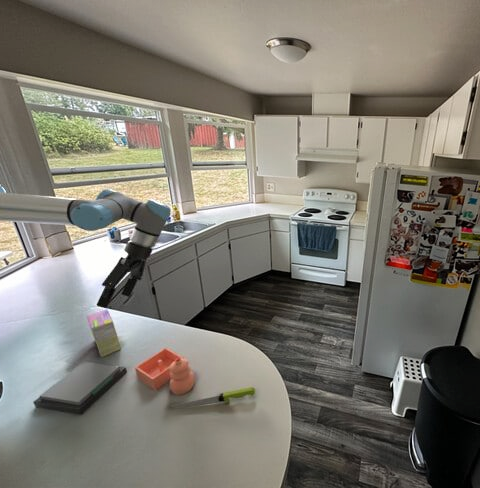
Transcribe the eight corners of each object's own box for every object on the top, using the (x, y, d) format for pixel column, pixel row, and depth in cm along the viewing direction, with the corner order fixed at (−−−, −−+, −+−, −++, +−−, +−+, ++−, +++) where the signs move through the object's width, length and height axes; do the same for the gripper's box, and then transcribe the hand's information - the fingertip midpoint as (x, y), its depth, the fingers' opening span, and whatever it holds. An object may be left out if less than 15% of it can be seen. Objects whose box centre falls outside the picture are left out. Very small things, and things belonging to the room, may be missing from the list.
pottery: (137, 377, 77) (130, 352, 74) (167, 357, 85) (162, 333, 82) (174, 403, 70) (168, 377, 66) (204, 378, 78) (199, 353, 74)
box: (95, 342, 90) (86, 315, 86) (115, 335, 94) (107, 308, 90) (100, 358, 84) (90, 329, 80) (121, 349, 88) (113, 321, 84)
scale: (35, 407, 67) (31, 398, 66) (88, 366, 80) (85, 358, 79) (81, 414, 66) (77, 406, 65) (127, 372, 79) (124, 364, 78)
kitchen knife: (171, 415, 68) (169, 407, 67) (173, 410, 69) (170, 403, 68) (255, 397, 72) (254, 390, 71) (255, 393, 73) (254, 386, 72)
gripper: (134, 250, 75) (103, 316, 74) (166, 246, 99) (143, 295, 98) (107, 240, 73) (75, 307, 72) (147, 238, 98) (123, 288, 97)
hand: (114, 300), depth 85 cm, fingers open, 13 cm apart
